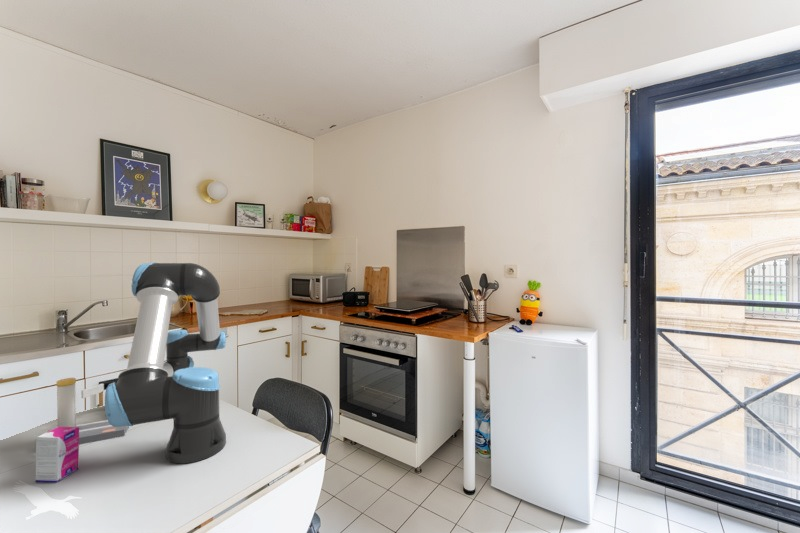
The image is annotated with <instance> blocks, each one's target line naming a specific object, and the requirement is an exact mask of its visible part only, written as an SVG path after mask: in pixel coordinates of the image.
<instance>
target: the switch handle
mask: <svg viewBox="0 0 800 533" xmlns="http://www.w3.org/2000/svg"><path fill="white" fill-rule="evenodd" d="M76 380H77V378H75V377H66V378H63V379H62V378H61V379H59V380H57V381H56V400H57V402H56V407H57V412H56V413H57V419H56V420H57V427H77V426H76V425H77V421H76V419H77V418H76V417H77V416H76V415H77V414H76V412H77V411H76V410H77V409H76V401H77V400H76Z"/></svg>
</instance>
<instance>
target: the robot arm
mask: <svg viewBox="0 0 800 533" xmlns="http://www.w3.org/2000/svg"><path fill="white" fill-rule="evenodd" d="M131 280H132V282H131V293H132V295H133V296H134V297H135V299H136V300H137V301H138V302H139V303H140V305H139V311H138V314H137V320H136V324H135V329H134V332H133V333H134V334H133V338H132V343H131V348H130V351H129V352H130V353H129V357H128V362H127V367H126V369H125V370H123V371H121V372H120V373H119V375H118V377H117V378H112V379H106V380H103V381H101V380H100V381H99V382H98V384H96V385H93V386H91V387H88V388H85V389H82V390H81V392H80V393H81V399H86V398H88V397H91V396H93V395H94V396H95V395H97V394H99V393H103V392H104V391H105V392H104V410H105V417H106V420H108V422H109V423H110V425H112V426H114V427H122V426H130V427H133V426H135V425H140V424H148V423H154V422H161V421H165V420H166V421H167V420H172V419H173V429H172V431H171V433H170V436H169V439H168V442H167V446H166V448H165V449H166V452H165V453H166V455H165V456H166V459H167V461H169V462H171V463H174V464H191V463H195V462H200V461H203V460H205V459H207V458H210V457H212V456H214V455H216V454H218V453H219V452H221V451H222V450H223V449H224V448H225V446H226V444H227V435H226V434H227V433H226V432H225V428H224V427H223V424H222V422H221V418H220V388H221V385H220V378H219V377H220V376H219V373H218V372H217V371H216V370H215V369H212V368H210V367H201V366H195V362H194V360H193V357H191V356H190V355H188V353H193V352H203V351H217V350H222V349H225V348H226V345H227V344H226V341H227V339H226V338H227V336H226V333H225V332H224V331H221V330H220V328H221V327H220V317H219V316H220V315H219V314H220V313H219V302H218V298H219V297H220V294H221V291H220V290H221V289H220V284H219V282H218V280H217V278H216V277H215V276H214V274H213V273H212V272H211V271H209V269H207V268H205V267H204V266H202V265H199V264H198V263H197V264H196V263H193V262H184V263H183V262H182V263H181V262H179V263H178V262H176V263H175V262H173V263H169V262H160V263H159V262H151V263H150V262H149V263H142V264H139V266H137V267H136V268H135V271H134V272H133V275H132V278H131ZM180 296H181V297H182V296H184V297H185V296H190V297H191V298H192V300H193V301H194V303H195V309H196V310H195V311H196V318H197V323H198V331H199V333H191V334H190V333H188V330H186V329H174V330H170V331H169V329H170V328H169V327H170V321H171V314H172V308H173V307H172V306H174V305H175V304H176V303H177V302H178V300H179V297H180ZM165 356H166V357H165ZM165 358H166V361H165Z"/></svg>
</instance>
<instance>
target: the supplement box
mask: <svg viewBox="0 0 800 533" xmlns="http://www.w3.org/2000/svg"><path fill="white" fill-rule="evenodd" d="M52 429H53V430H51V431H49V432H47V431H46V432H47V433H46V432H45V433H42V434H41V435H38V436H36V439H35V447H36V448H35V480H34V482H35V483H49V484H51V483H53V484H55V483H58V482H60V481H62V479H65V478H66V477H68V476H69V475H71V474H72V473H74V472H76V471H78V470H79V468H80V466H79V459H80V458H79V456H80V454H79V453H80V444H79V427H58V426H57V427H55V428H52Z"/></svg>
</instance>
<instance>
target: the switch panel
mask: <svg viewBox="0 0 800 533" xmlns="http://www.w3.org/2000/svg"><path fill="white" fill-rule="evenodd" d="M76 426H77V427H79V445H82V444H88V443H93V442H98V441H99V442H100V441H105V440H109V439H115V437H116V438H120V436H121V437H125V436H126V434H127V432H128V431H129V429H130V427H129V426H122V427H114V426H112V425H110V423H109V422H108V420H107V419H106V420H99V421H93V422H88V423H87V422H86V423H80V424H76ZM53 429H54V428H52V429H51V428H50V429H49V430H47V431H46V432H45V433H47V432H49V431H51V430H53ZM125 433H126V434H125Z"/></svg>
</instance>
